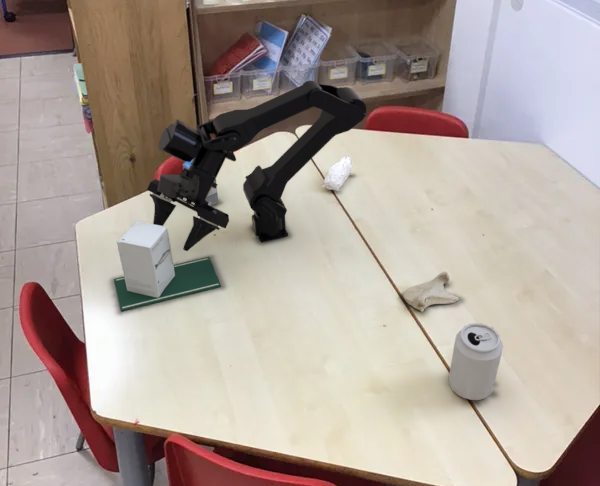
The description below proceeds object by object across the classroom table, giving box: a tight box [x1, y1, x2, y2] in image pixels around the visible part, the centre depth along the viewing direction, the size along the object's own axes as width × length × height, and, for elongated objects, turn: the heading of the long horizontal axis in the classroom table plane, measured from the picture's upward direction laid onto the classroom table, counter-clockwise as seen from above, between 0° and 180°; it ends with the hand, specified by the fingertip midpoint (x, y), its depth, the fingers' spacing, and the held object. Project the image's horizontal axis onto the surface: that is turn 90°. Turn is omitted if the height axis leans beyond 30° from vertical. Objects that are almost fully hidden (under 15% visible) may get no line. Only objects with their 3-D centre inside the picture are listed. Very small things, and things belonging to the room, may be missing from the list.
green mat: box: [113, 256, 222, 313], centre depth 136 cm, size 20×10×1 cm, turn 110°
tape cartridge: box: [182, 160, 219, 207], centre depth 158 cm, size 9×4×12 cm, turn 41°
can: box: [448, 322, 504, 401], centre depth 110 cm, size 8×8×12 cm
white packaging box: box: [116, 220, 175, 298], centre depth 132 cm, size 7×7×13 cm
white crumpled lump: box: [321, 155, 353, 192], centre depth 164 cm, size 5×7×10 cm
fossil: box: [402, 271, 459, 312], centre depth 131 cm, size 7×11×4 cm, turn 117°
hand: (169, 241), depth 135 cm, fingers open, 9 cm apart
